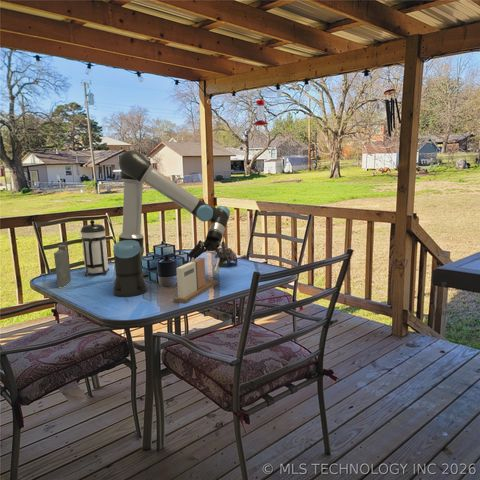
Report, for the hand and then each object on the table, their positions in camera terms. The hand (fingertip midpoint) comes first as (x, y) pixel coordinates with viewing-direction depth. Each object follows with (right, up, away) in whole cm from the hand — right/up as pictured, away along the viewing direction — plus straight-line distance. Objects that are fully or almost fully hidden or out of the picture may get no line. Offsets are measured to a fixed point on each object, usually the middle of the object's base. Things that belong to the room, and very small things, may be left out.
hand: (202, 271), depth 181 cm
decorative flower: (+10, 0, +46) cm, 48 cm away
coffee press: (-61, -4, +36) cm, 71 cm away
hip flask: (-72, -8, +19) cm, 75 cm away
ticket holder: (-2, -9, -2) cm, 10 cm away
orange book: (-1, -7, 0) cm, 7 cm away
